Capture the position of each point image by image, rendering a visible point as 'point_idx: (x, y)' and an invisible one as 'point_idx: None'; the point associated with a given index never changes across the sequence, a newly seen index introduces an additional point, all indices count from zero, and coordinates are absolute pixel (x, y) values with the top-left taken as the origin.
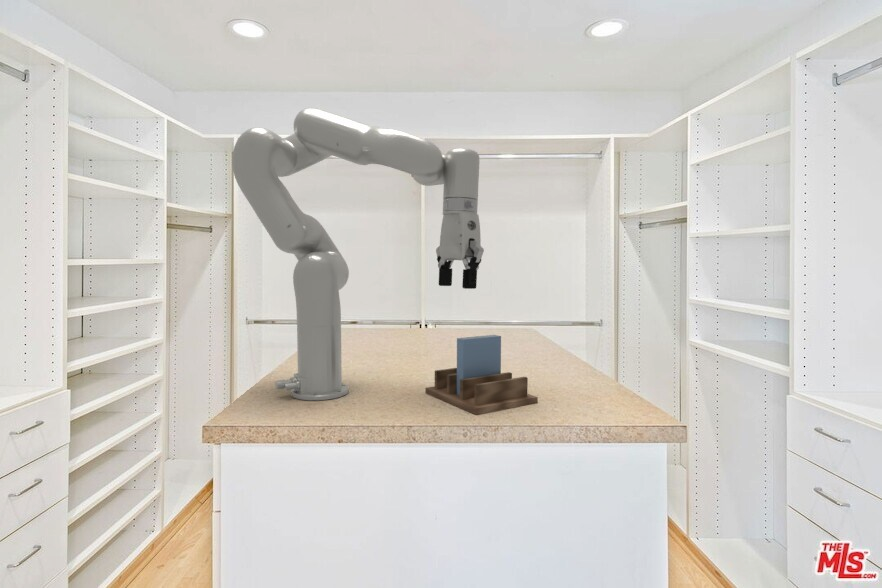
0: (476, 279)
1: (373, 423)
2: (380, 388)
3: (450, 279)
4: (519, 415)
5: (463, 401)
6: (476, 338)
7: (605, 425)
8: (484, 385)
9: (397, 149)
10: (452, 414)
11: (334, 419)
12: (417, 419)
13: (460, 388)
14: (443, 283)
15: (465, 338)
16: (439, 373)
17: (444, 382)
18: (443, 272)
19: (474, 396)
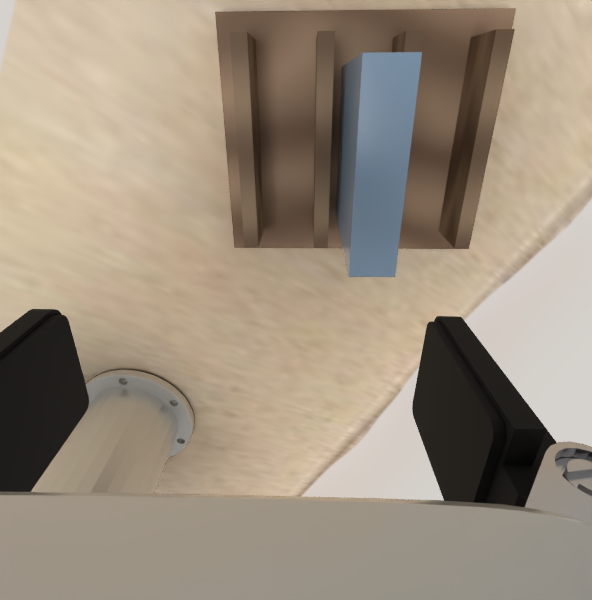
0: (488, 356)
1: (368, 406)
2: (138, 305)
3: (35, 354)
4: (533, 148)
5: (401, 238)
6: (402, 213)
7: None
8: (472, 223)
9: None
10: (416, 276)
11: (311, 440)
12: (397, 344)
13: None
14: (76, 393)
15: (375, 252)
16: (258, 236)
17: (261, 210)
18: (16, 476)
19: (445, 237)
